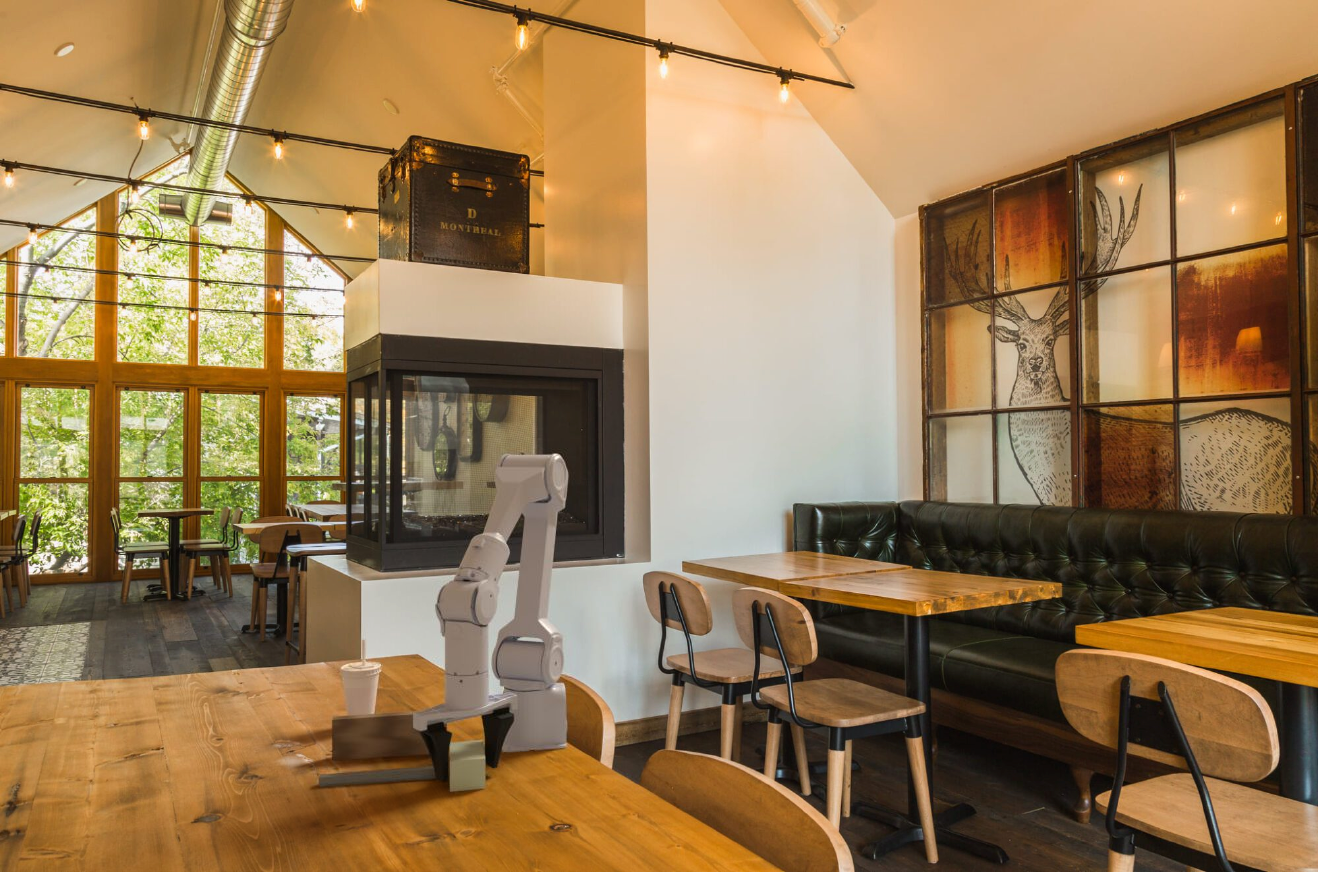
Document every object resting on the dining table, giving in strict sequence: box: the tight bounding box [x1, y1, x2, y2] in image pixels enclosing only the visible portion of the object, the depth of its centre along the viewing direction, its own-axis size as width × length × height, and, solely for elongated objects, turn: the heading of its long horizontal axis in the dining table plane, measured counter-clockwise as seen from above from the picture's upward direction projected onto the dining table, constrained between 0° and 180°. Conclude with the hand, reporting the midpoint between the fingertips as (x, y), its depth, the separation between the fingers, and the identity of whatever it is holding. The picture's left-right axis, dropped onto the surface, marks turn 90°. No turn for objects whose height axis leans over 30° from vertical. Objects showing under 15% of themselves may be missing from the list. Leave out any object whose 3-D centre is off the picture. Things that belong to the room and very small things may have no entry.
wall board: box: [331, 710, 448, 761], centre depth 129 cm, size 16×2×6 cm, turn 102°
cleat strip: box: [318, 765, 437, 788], centre depth 118 cm, size 16×1×2 cm, turn 102°
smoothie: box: [339, 638, 382, 716], centre depth 143 cm, size 6×6×14 cm
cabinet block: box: [449, 739, 486, 792], centre depth 118 cm, size 4×8×4 cm, turn 13°
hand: (467, 772), depth 118 cm, fingers open, 7 cm apart
